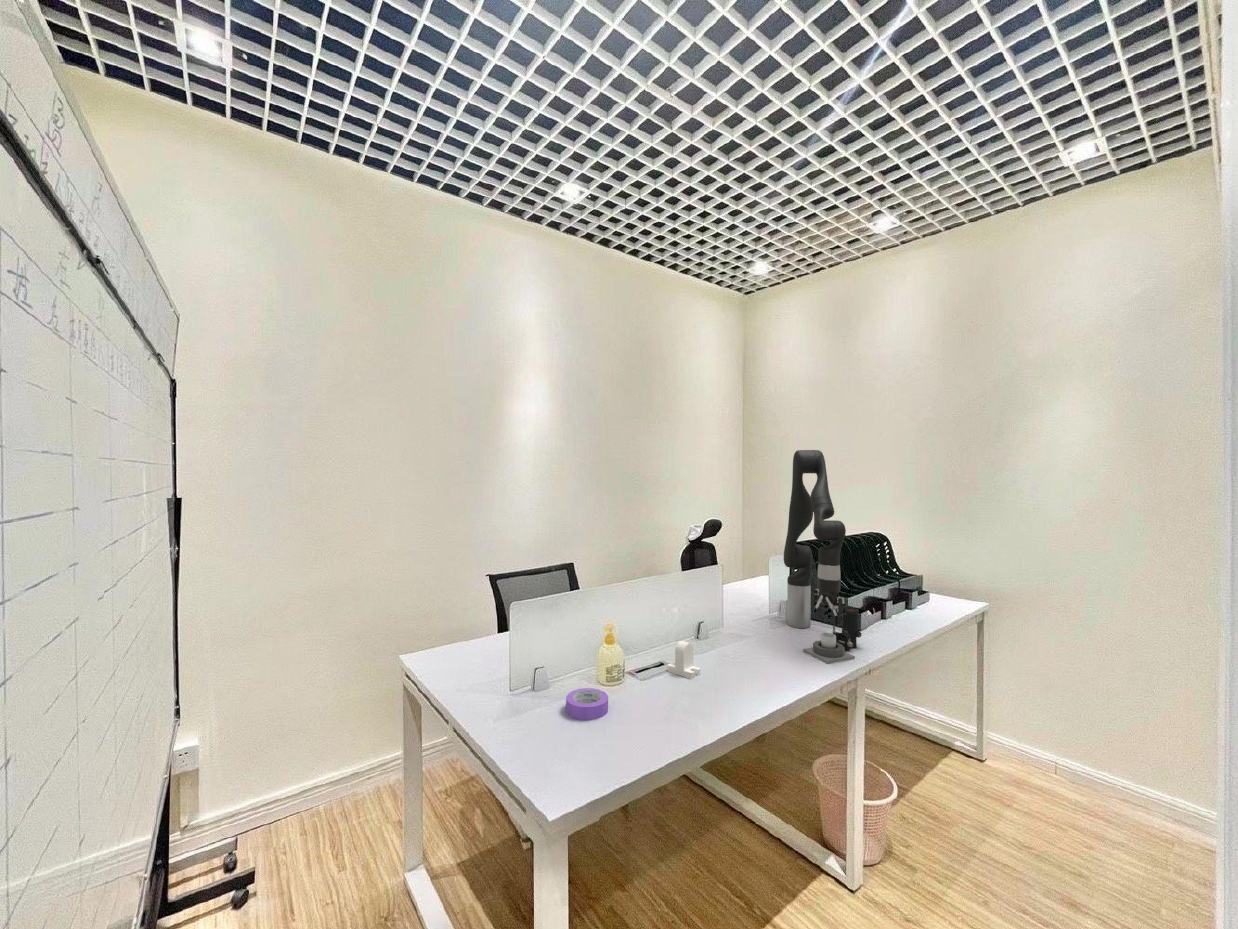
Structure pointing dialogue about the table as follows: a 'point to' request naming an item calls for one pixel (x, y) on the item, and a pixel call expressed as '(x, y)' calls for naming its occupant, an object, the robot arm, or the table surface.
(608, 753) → the table surface
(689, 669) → the cable organizer
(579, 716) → the masking tape
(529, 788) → the table surface
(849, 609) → the scope
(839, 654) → the ring on square plate
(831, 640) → the cap
